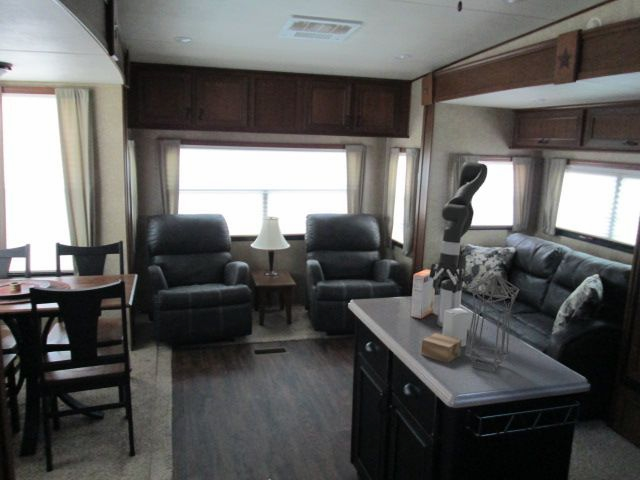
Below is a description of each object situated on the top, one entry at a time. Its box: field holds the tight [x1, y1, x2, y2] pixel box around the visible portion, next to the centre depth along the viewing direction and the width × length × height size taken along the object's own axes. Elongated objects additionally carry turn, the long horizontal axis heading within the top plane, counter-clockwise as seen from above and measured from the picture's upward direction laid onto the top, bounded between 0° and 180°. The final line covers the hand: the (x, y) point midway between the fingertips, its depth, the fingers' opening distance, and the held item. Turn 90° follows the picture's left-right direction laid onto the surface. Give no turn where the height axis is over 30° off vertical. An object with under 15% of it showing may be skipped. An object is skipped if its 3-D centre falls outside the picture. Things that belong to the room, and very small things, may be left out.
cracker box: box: [410, 268, 437, 320], centre depth 250 cm, size 14×6×21 cm, turn 144°
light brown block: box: [420, 332, 462, 364], centre depth 203 cm, size 11×11×6 cm
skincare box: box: [441, 307, 470, 348], centre depth 213 cm, size 8×6×15 cm
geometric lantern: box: [464, 273, 520, 372], centre depth 192 cm, size 16×16×35 cm
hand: (444, 290), depth 219 cm, fingers open, 8 cm apart
